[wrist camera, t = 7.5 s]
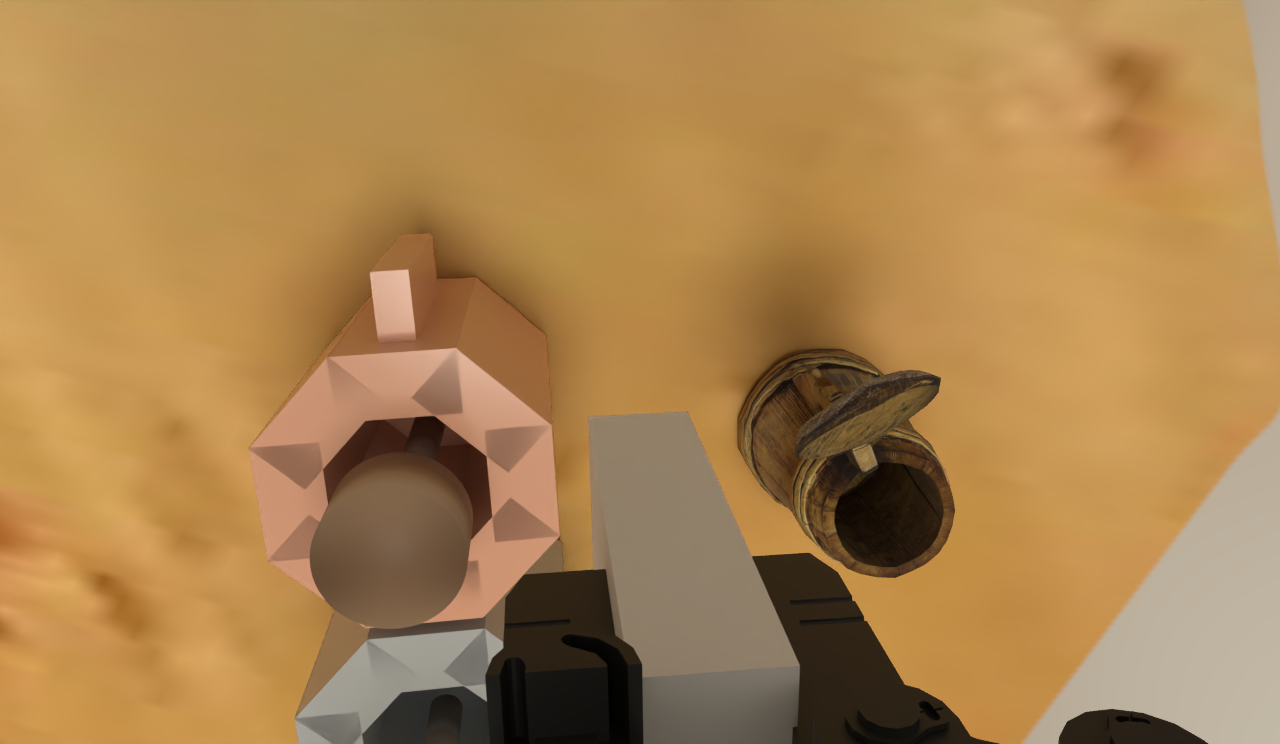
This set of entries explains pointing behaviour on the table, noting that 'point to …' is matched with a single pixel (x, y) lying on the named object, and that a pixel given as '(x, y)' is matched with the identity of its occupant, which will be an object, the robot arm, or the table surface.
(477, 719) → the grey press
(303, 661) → the table surface
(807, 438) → the wooden mug
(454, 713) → the grey plunger
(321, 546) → the taupe plunger
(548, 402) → the pink octagonal mug
